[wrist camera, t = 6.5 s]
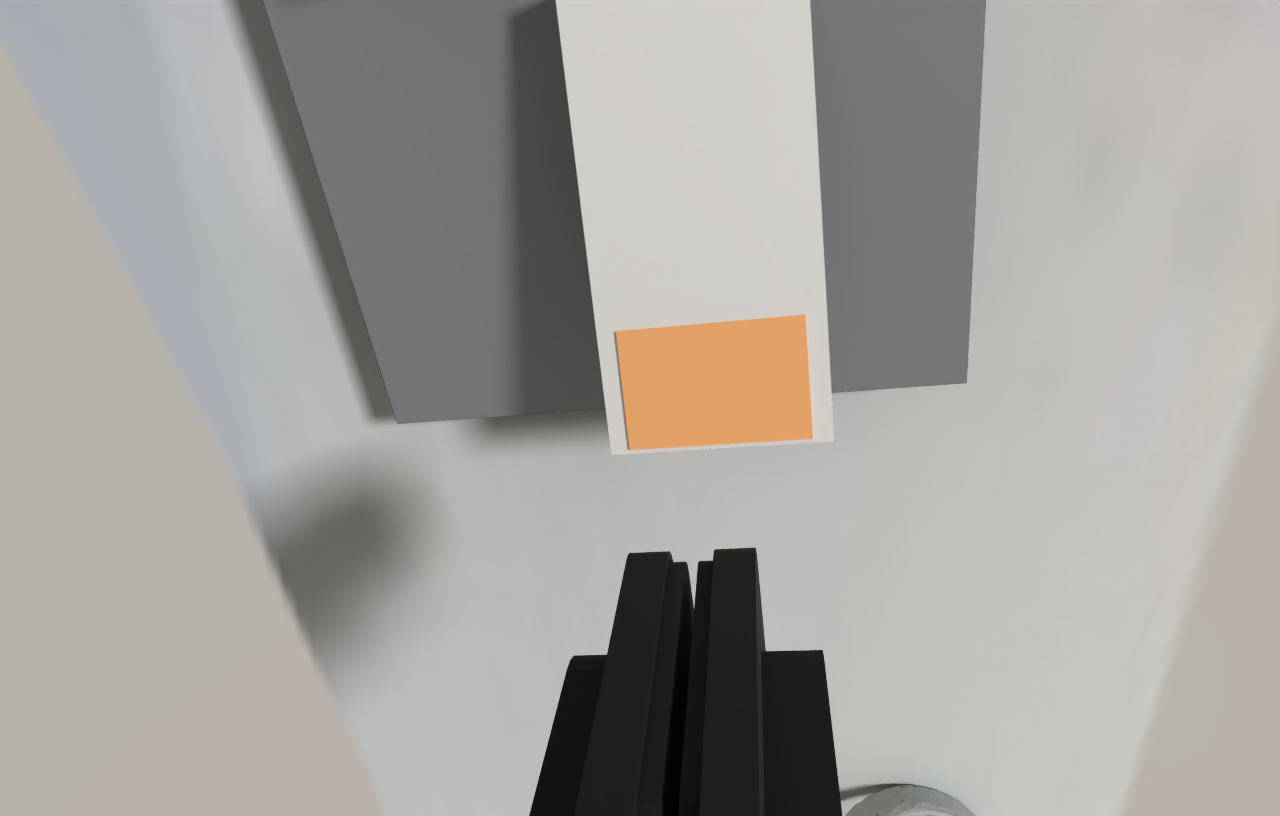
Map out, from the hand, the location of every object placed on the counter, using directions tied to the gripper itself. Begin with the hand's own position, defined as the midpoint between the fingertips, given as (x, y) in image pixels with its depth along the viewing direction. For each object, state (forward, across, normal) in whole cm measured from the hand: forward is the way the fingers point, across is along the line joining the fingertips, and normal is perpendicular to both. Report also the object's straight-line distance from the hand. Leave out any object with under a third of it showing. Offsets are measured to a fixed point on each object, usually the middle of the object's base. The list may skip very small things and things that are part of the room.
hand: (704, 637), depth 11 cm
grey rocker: (+8, 0, -4) cm, 9 cm away
